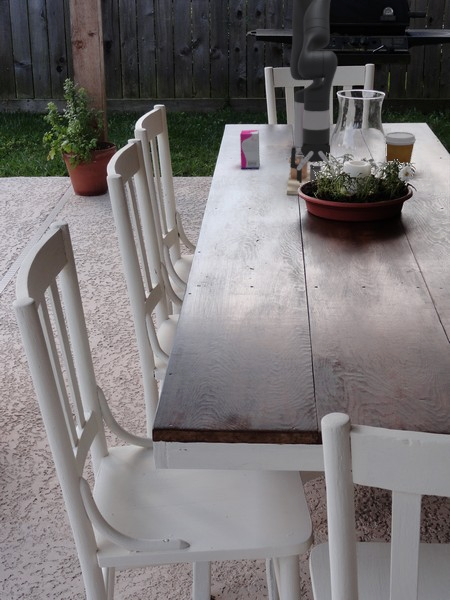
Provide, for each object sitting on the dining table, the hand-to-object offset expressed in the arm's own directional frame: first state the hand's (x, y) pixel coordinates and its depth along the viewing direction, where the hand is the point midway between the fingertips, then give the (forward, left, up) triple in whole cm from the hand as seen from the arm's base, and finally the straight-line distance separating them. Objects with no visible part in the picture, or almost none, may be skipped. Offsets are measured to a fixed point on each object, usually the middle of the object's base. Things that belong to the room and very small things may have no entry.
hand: (315, 182), depth 228 cm
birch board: (-9, -3, -3) cm, 10 cm away
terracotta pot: (-12, -5, -2) cm, 13 cm away
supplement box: (-28, -21, -3) cm, 35 cm away
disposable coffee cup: (-20, +25, -3) cm, 32 cm away
